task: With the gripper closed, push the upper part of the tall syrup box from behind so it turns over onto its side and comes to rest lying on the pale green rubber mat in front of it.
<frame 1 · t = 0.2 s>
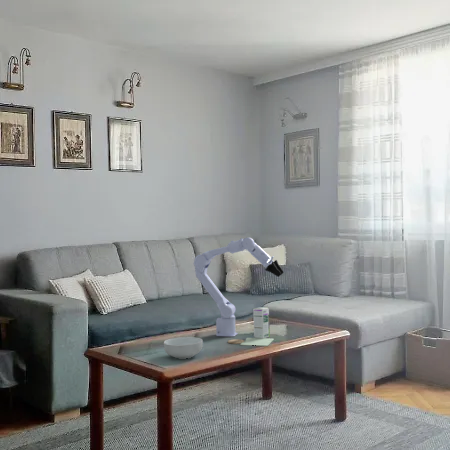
hand: (281, 274, 288), 31 cm above the table, tool tilted 45°, fingers open, 7 cm apart
mat: (257, 342, 276), on the table
syrup box: (261, 337, 286), on the table, touching mat
cereal bowl: (183, 357, 249), on the table
cork coaster: (236, 342, 277), on the table
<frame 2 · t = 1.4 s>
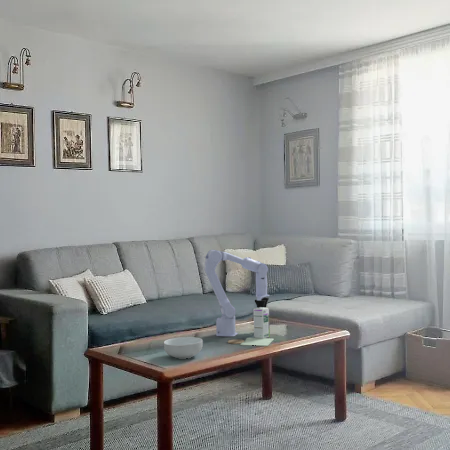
hand: (262, 312, 298), 10 cm above the table, tool pointing down, fingers open, 6 cm apart
nothing on the table moved.
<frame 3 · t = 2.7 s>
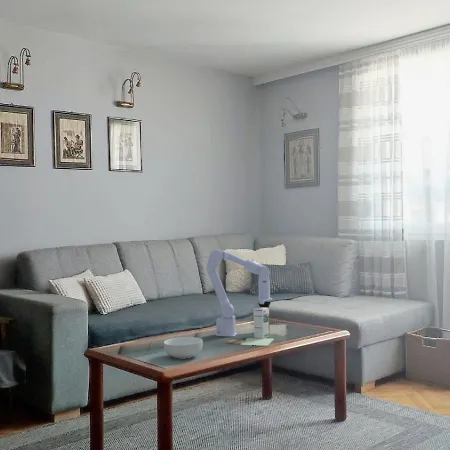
hand: (264, 316, 295), 9 cm above the table, tool pointing down, fingers closed
nothing on the table moved.
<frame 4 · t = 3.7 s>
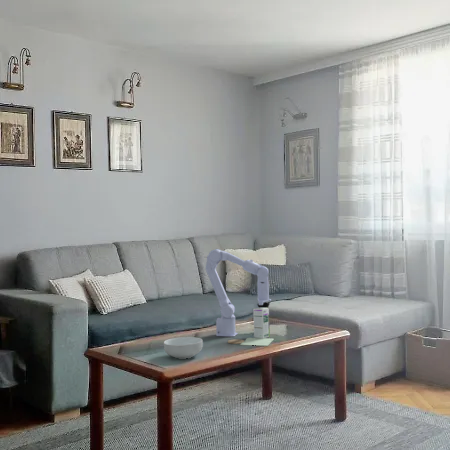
hand: (263, 317, 292), 9 cm above the table, tool pointing down, fingers closed
syrup box: (261, 337, 286), on the table, touching gripper, mat
everything else where it was.
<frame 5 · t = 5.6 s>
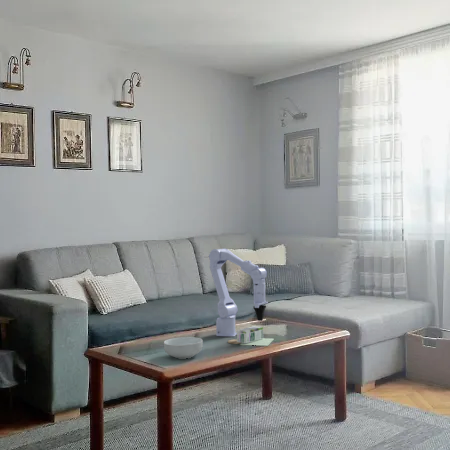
hand: (260, 320, 284), 9 cm above the table, tool pointing down, fingers closed
syrup box: (258, 332, 284), point 3 cm above the table, touching cork coaster, mat
everything else where it was.
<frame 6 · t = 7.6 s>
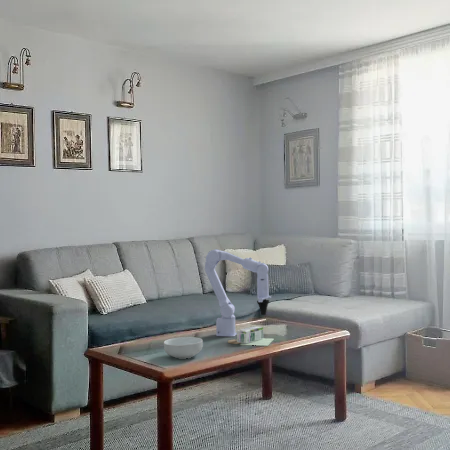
hand: (263, 314, 292), 10 cm above the table, tool pointing down, fingers closed
nothing on the table moved.
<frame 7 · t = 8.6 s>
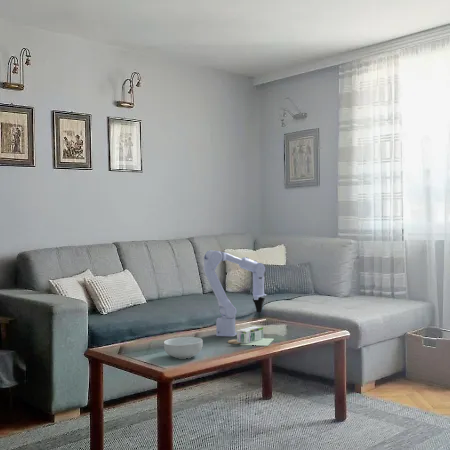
hand: (259, 312, 301), 10 cm above the table, tool pointing down, fingers closed
nothing on the table moved.
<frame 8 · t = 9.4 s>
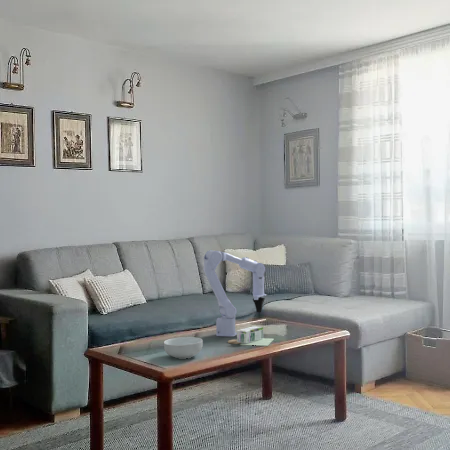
hand: (259, 312, 301), 10 cm above the table, tool pointing down, fingers closed
nothing on the table moved.
at the end: syrup box tilted 89°; syrup box inside the target area (6.6 cm from its centre), point 3.1 cm above the table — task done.
